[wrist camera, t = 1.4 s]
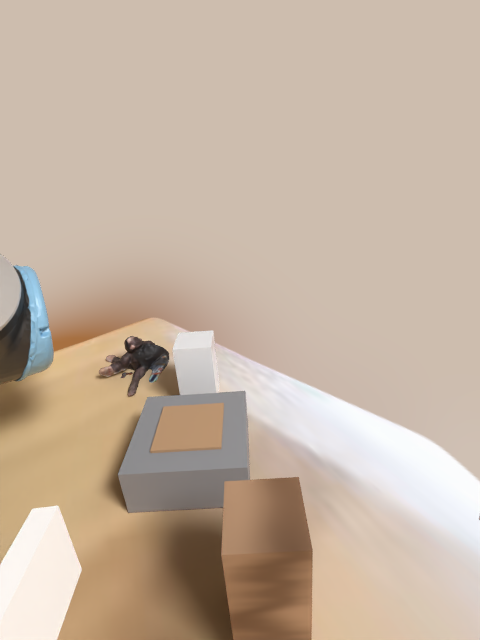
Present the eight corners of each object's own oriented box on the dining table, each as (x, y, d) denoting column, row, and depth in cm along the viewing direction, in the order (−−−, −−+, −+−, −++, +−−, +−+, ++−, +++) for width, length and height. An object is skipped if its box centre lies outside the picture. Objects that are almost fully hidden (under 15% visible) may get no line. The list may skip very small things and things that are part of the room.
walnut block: (236, 661, 24) (221, 555, 20) (236, 582, 29) (224, 481, 25) (311, 658, 24) (312, 550, 20) (299, 579, 29) (298, 477, 24)
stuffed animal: (149, 338, 69) (168, 320, 59) (168, 385, 69) (190, 375, 58) (86, 359, 63) (95, 343, 53) (106, 412, 62) (120, 406, 52)
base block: (128, 512, 35) (117, 472, 33) (154, 429, 46) (147, 395, 44) (250, 506, 35) (247, 464, 33) (247, 423, 46) (245, 388, 44)
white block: (182, 406, 51) (172, 349, 47) (186, 386, 55) (178, 332, 51) (217, 404, 50) (210, 347, 47) (219, 384, 55) (213, 330, 51)
